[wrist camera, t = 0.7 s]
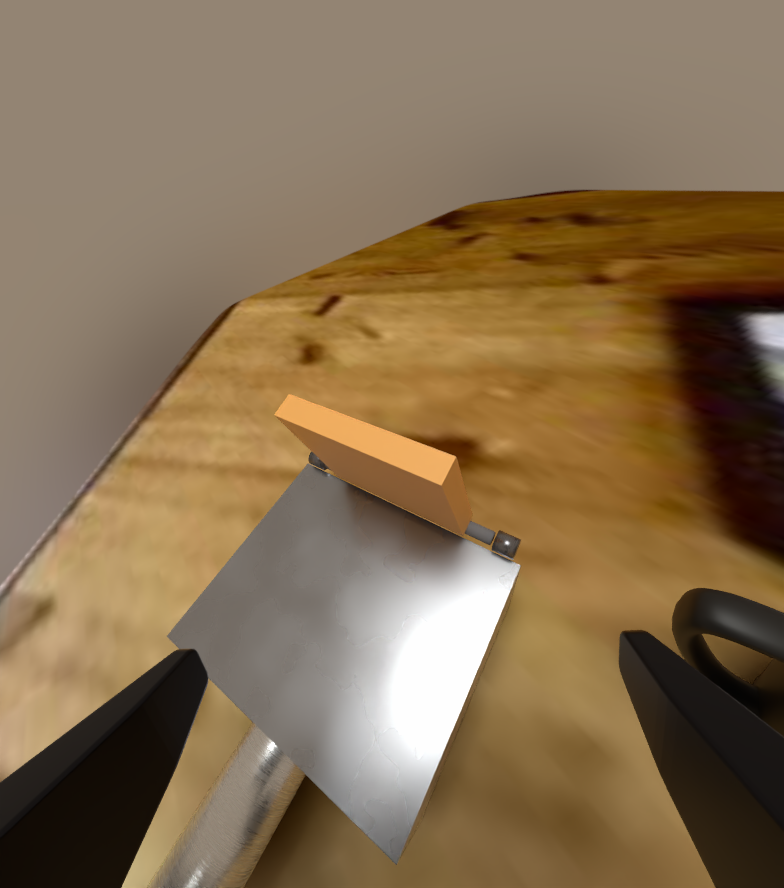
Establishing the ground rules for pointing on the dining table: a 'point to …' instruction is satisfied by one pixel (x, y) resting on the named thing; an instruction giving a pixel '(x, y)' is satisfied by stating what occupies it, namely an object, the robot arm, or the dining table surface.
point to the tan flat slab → (385, 464)
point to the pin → (233, 818)
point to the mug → (742, 621)
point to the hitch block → (354, 643)
